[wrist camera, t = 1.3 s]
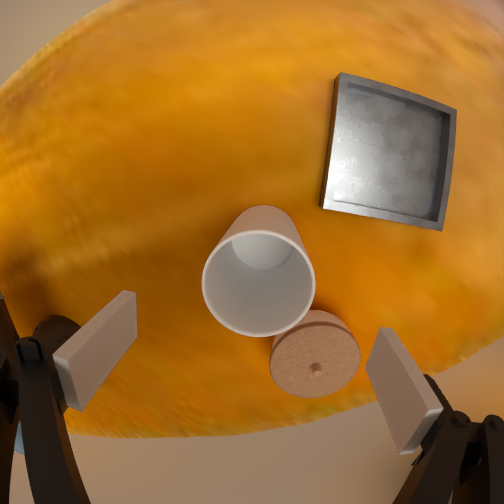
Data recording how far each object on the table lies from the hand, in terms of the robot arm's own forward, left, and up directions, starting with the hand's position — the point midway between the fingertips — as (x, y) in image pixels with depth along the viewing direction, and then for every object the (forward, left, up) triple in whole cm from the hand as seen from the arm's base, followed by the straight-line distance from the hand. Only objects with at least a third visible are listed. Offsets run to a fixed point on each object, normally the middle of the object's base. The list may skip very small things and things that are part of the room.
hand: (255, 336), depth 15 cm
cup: (0, 0, -23) cm, 23 cm away
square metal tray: (+14, +13, -22) cm, 29 cm away
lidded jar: (+8, -12, -23) cm, 27 cm away
